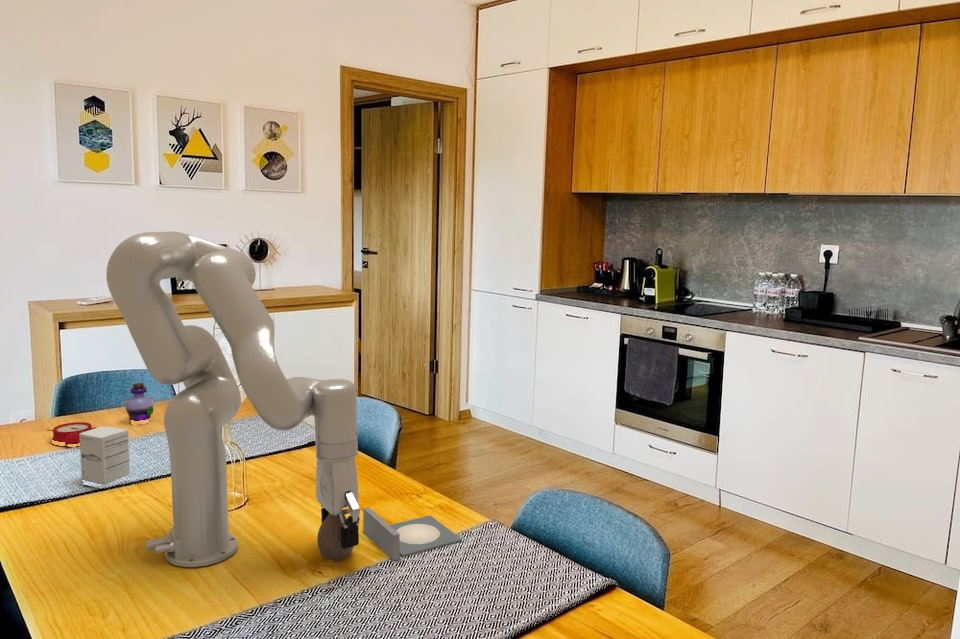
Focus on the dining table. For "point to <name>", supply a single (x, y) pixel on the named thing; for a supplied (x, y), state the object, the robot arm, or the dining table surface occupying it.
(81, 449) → the supplement box
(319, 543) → the vase
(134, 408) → the potion bottle
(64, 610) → the dining table surface
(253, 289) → the robot arm
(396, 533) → the low wall
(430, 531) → the mat
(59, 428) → the alarm clock
